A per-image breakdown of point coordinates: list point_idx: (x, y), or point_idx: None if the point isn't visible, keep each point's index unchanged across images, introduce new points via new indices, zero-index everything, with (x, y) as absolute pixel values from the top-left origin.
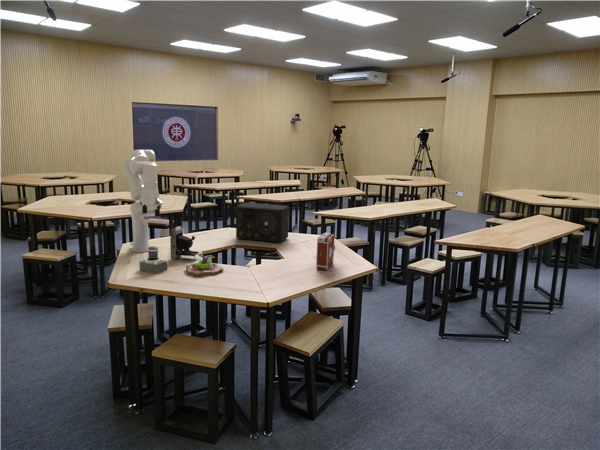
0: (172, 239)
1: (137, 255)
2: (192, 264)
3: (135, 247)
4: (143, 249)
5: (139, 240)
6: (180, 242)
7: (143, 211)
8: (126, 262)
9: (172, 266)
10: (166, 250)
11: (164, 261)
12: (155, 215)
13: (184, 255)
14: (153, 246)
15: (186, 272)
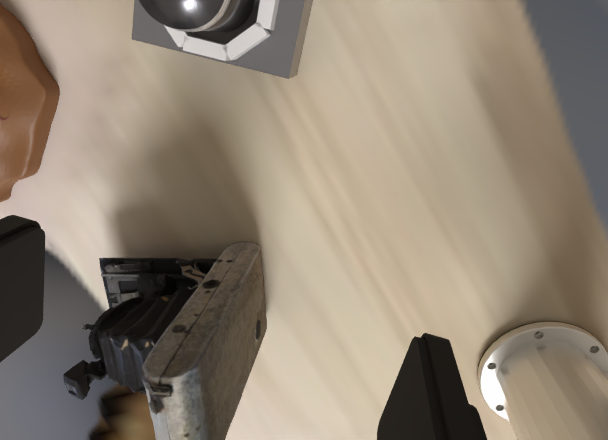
0: (205, 315)
1: (510, 264)
2: (5, 103)
3: (575, 353)
4: (514, 353)
5: (564, 389)
6: (162, 317)
7: (423, 372)
8: (511, 98)
9: (170, 114)
10: (383, 392)
11: (142, 22)
12: (11, 219)
13: (161, 258)
14: (199, 24)
15: (3, 9)
